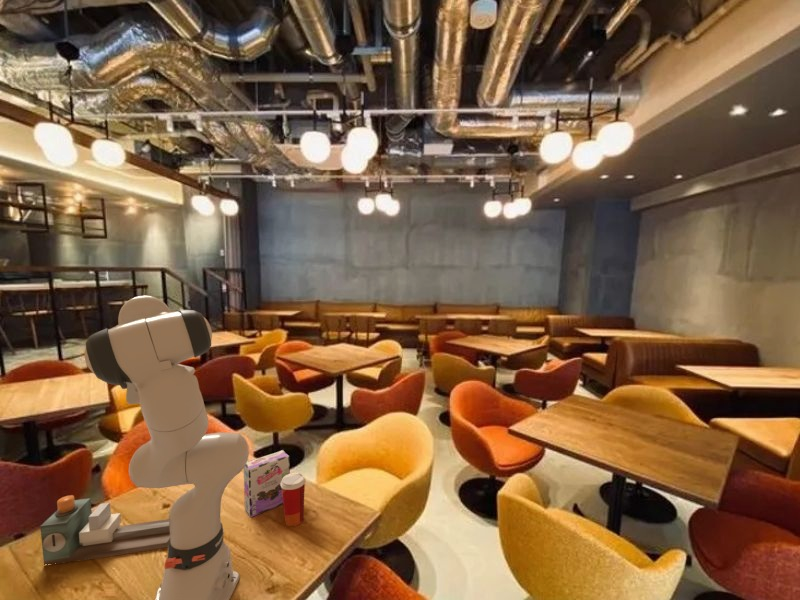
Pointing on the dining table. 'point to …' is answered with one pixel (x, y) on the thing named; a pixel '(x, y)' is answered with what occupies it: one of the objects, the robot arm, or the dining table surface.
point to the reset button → (66, 504)
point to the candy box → (265, 482)
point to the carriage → (100, 526)
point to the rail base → (66, 545)
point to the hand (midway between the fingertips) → (165, 414)
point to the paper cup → (293, 498)
